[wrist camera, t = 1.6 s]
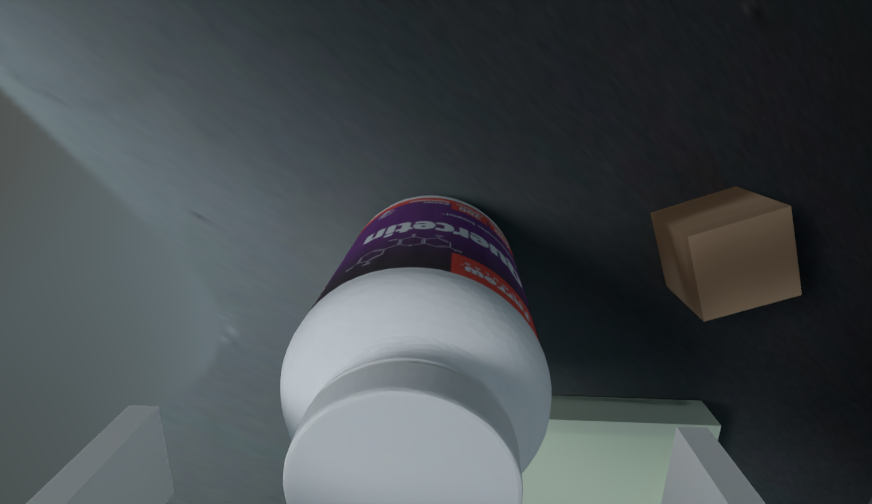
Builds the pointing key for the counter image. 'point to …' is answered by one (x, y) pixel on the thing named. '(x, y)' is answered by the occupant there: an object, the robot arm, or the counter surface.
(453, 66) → the counter surface
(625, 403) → the tray
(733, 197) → the walnut block
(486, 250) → the pill bottle
